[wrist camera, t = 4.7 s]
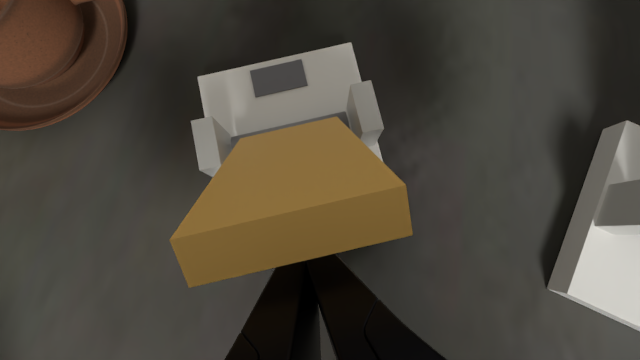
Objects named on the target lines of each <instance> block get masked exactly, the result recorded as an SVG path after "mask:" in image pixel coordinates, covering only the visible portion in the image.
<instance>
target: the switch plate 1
mask: <svg viewBox="0 0 640 360" xmlns="http://www.w3.org/2000/svg"><path fill="white" fill-rule="evenodd" d="M198 83H199V88H200V94H201V99H202V105H203V110H204V116H205V118H201V119H197V120H192V121H191V125H192V131H193V137H194V142H195V148H196V154H197V159H198V165H199V170H200V171H202V172H204V173H206V174H208V175H210V176H212V177H214V175H215V174H216V172H217V171H218V170H219V168H220V167H221V165H222V164H223V162H224V161H225V160H226V158H227V157H228V155H229V154H230V152H231V151H232V147H231V137H234V136H238V135H243V134H247V133H251V132H256V131H260V130H264V129H269V128H273V127H278V126H282V125H286V124H291V123H295V122H300V121H304V120H308V119H313V118H317V117H321V116H326V115H330V114H335V113H339V112H343V111H345V112H346V115H347V118H348V122H349V126H350V130H351V131H352V132H353V133H354V134H355V135H356V136H357V137H358V138H359V139H360V140H361V141H362V142H363V143H364V144H365V145H366V146H367V147H368V148H369V149H370V150H371V151H372V152H373V153H374V154H375V155H376V156H377V157H378V158H379V159H380V160H381V161H382V162H383V160H382V156H381V152H380V149H379V145H378V141H377V140H378V138H379V136H380V135H381V133H382V131H383V129H384V126H383V122H382V119H381V115H380V111H379V108H378V104H377V100H376V97H375V93H374V89H373V86H372V82H371V80H369V81H364V82H362V81H361V78H360V74H359V70H358V66H357V63H356V59H355V55H354V51H353V48H352V44H351V42H350V43H345V44H341V45H336V46H332V47H328V48H323V49H319V50H314V51H310V52H305V53H301V54H296V55H292V56H288V57H283V58H279V59H274V60H270V61H265V62H261V63H256V64H252V65H248V66H243V67H239V68H234V69H230V70H225V71H221V72H216V73H212V74H207V75H203V76H199V77H198Z"/></svg>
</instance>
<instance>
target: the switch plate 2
mask: <svg viewBox="0 0 640 360" xmlns="http://www.w3.org/2000/svg"><path fill="white" fill-rule="evenodd" d="M547 289H549V290H551V291H553V292H555V293H557V294H560V295H562V296H564V297H566V298H568V299H570V300H573V301H575V302H577V303H579V304H581V305H584V306H586V307H588V308H590V309H592V310H594V311H597V312H599V313H601V314H603V315H605V316H608V317H610V318H612V319H614V320H616V321H618V322H621V323H623V324H625V325H627V326H629V327H632V328H634V329H636V330H638V331H640V125H637V124H635V123H632V122H630V121H627V120H626V121H624V122H621V123H618V124H616V125H613V126H610V127H608V128H605V129H603V131H602V133H601V136H600V139H599V142H598V145H597V147H596V150H595V153H594V156H593V159H592V162H591V164H590V167H589V170H588V173H587V176H586V179H585V181H584V184H583V187H582V190H581V193H580V196H579V198H578V201H577V204H576V207H575V210H574V213H573V215H572V218H571V221H570V224H569V227H568V230H567V232H566V235H565V238H564V241H563V244H562V246H561V249H560V252H559V255H558V258H557V261H556V263H555V266H554V269H553V272H552V275H551V278H550V280H549V283H548V286H547Z"/></svg>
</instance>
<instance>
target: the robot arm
mask: <svg viewBox="0 0 640 360" xmlns="http://www.w3.org/2000/svg"><path fill="white" fill-rule="evenodd" d="M318 304H319V307H318ZM319 308H320V311H321V314H322V317H323V320H324V323H325V326H326V329H327V332H328V335H329V338H330V342H331V345H332V348H333V351H334V354H335V357H336V360H447V359H445V358H444V357H443V356H442V355H440V354H439V353H438V352H437V351H436V350H434V349H433V348H432V347H431V346H429V345H428V344H427V343H426V342H424V341H423V340H422V339H421V338H420V337H418V336H417V335H416V334H415V333H414V332H413V331H411V330H410V329H409V328H408V327H407V326H406V325H404V324H403V323H402V322H401V321H400V320H399V319H398V318H397V317H396V316H395V315H394V314H393V313H392V312H391V311H390V310H389V309H388V308H387V307H386V306H385V305H384V304H383V303H382V302H381V301H380V300H378V298H377V297H376V296H375V295H374V294H373V293H372V292H371V290H370V289H369V288H368V287H367V286H366V285H365V284H364V283H363V282H362V281H361V280H360V279H359V278H358V277H357V276H356V275H355V273H354V272H353V271H352V270H351V269H350V268H349V267H348V266H347V265H346V264H345V263H344V262H343V261H342V260H341V259H340V258H339V256H338V255H337V254H336V253H335V254H331V255H326V256H322V257H318V258H314V259H309V260H305V261H301V262H297V263H292V264H288V265H284V266H280V267H276V268H275V270H274V271H273V273H272V275H271V277H270V279H269V281H268V283H267V284H266V286H265V288H264V290H263V292H262V294H261V295H260V297H259V299H258V301H257V303H256V305H255V306H254V308H253V310H252V312H251V314H250V316H249V318H248V319H247V321H246V323H245V325H244V327H243V329H242V330H241V333H240V334H239V335H238V337H237V339H236V341H235V342H234V344H233V346H232V348H231V349H230V351H229V353H228V355H227V356H226V358H225V360H321V350H320V326H319Z"/></svg>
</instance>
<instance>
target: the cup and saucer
mask: <svg viewBox="0 0 640 360" xmlns="http://www.w3.org/2000/svg"><path fill="white" fill-rule="evenodd" d="M126 40H127V14H126V9H125V5H124V2H123V0H0V130H8V131H21V130H31V129H36V128H41V127H45V126H48V125H51V124H54V123H57V122H59V121H62V120H64V119H66V118H68V117H70V116H71V115H73V114H75V113H76V112H78V111H79V110H81V109H82V108H84V107H85V106H86V105H88V104H89V103H90V102H91V101H92V100H93V99H95V97H96V96H97V95H98V94H99V93H100V92H101V91H102V90H103V89H104V88H105V86H106V85H107V84H108V83H109V81H110V80H111V78H112V77H113V75H114V73H115V71H116V70H117V68H118V66H119V63H120V61H121V59H122V56H123V53H124V50H125V45H126Z"/></svg>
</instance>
